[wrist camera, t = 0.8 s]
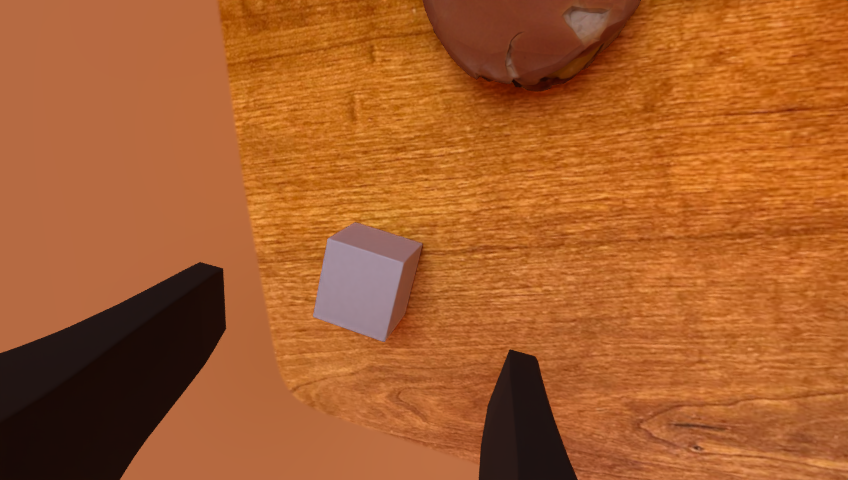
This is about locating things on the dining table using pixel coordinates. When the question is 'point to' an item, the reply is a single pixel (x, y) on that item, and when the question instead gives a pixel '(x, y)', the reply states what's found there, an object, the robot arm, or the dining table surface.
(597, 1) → the chocolate glazed sandwich cookie
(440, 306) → the dining table surface
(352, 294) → the cube
